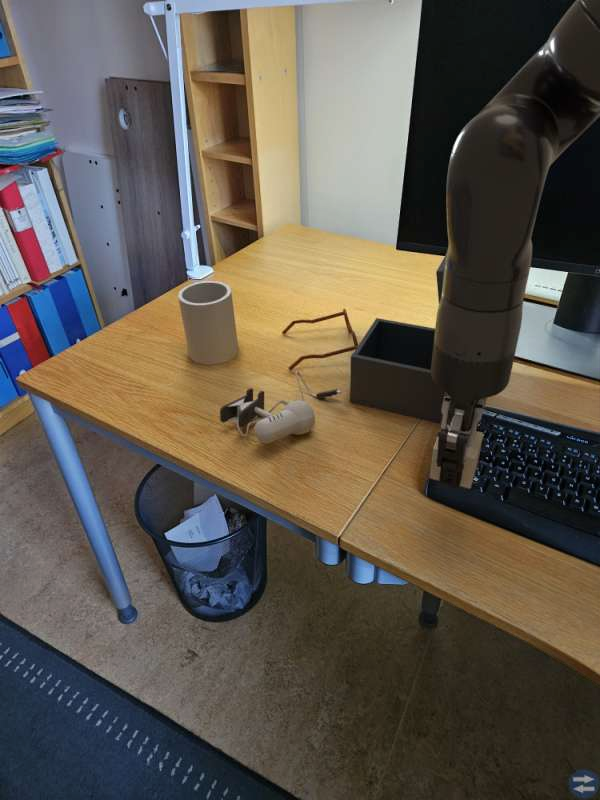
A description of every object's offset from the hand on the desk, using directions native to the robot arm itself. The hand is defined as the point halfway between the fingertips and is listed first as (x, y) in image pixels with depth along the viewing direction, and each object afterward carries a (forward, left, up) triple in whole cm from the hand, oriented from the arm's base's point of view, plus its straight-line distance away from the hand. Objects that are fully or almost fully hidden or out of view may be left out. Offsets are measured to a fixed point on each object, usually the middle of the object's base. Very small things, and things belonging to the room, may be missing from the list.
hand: (454, 467), depth 63 cm
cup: (+48, -25, -11) cm, 55 cm away
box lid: (+7, -26, +6) cm, 28 cm away
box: (+12, -26, -10) cm, 31 cm away
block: (0, 0, 0) cm, 0 cm away
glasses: (+30, -33, -11) cm, 46 cm away
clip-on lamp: (+27, -12, -11) cm, 32 cm away
